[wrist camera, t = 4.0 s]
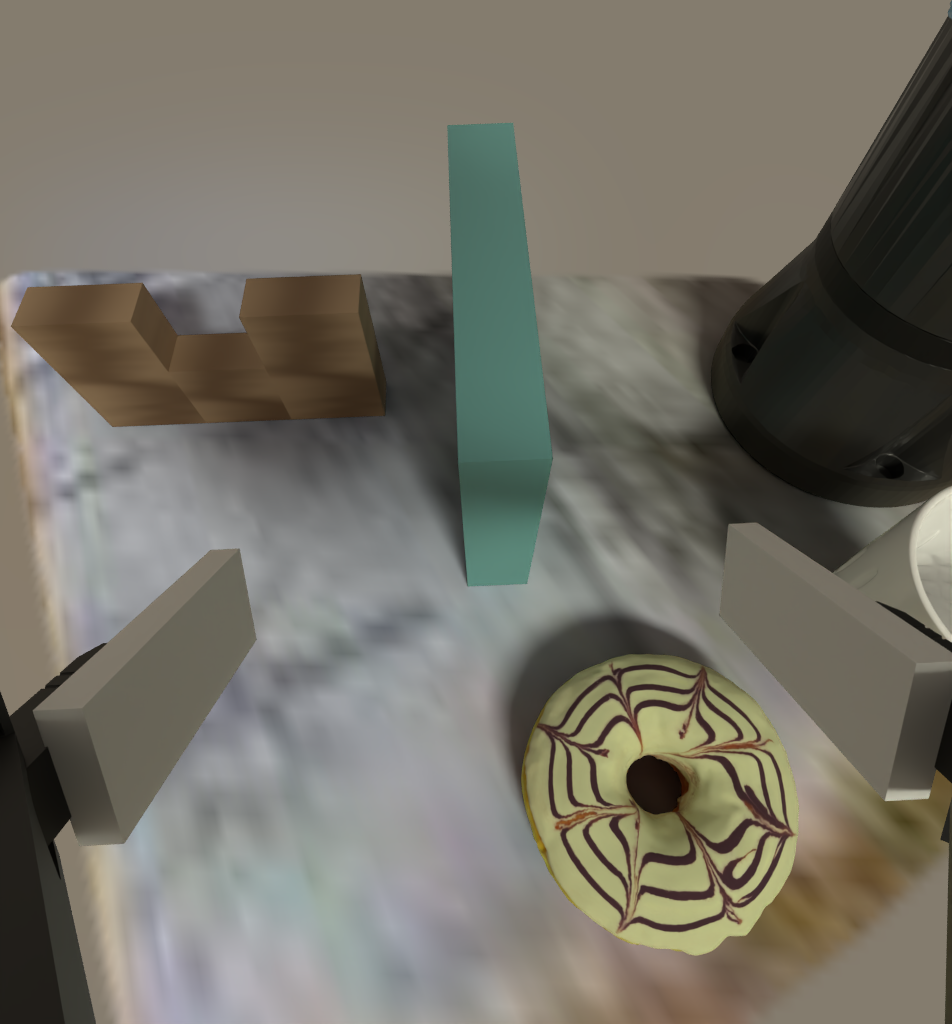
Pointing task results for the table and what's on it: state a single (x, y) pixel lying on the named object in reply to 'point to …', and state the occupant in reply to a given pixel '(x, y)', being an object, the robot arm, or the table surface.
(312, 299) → the walnut slotted plate
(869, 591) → the white cup
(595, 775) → the decorated donut
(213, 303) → the table surface
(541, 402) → the teal upright panel
